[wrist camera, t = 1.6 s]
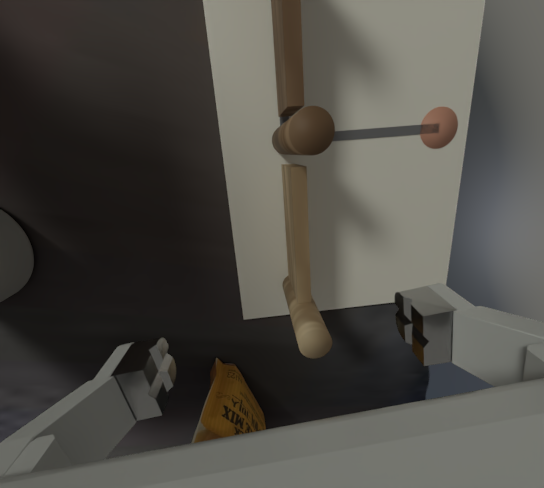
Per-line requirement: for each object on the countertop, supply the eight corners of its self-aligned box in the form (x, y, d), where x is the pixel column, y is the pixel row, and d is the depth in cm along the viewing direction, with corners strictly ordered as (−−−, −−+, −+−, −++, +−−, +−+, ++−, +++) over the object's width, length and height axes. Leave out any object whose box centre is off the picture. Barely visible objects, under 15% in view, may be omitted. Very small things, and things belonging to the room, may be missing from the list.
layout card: (243, 317, 37) (243, 320, 37) (192, -83, 24) (191, -90, 24) (441, 294, 39) (444, 296, 38) (493, -93, 26) (499, -99, 25)
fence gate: (283, 296, 36) (299, 360, 25) (273, 165, 31) (289, 171, 20) (305, 293, 36) (332, 356, 25) (300, 162, 31) (330, 168, 20)
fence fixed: (272, 155, 31) (290, 157, 18) (257, -61, 25) (267, -273, 12) (299, 153, 31) (334, 153, 18) (290, -62, 25) (333, -272, 13)
